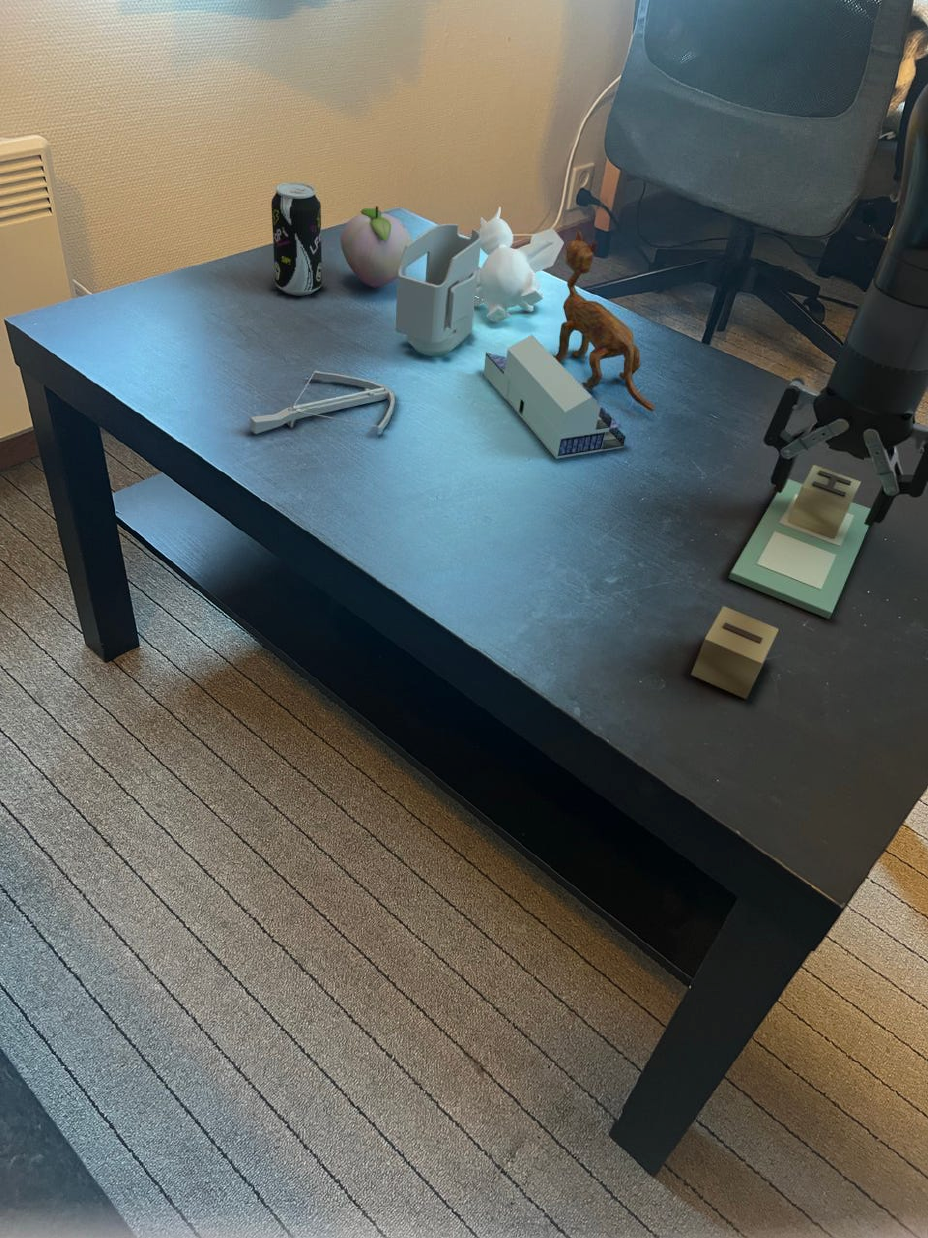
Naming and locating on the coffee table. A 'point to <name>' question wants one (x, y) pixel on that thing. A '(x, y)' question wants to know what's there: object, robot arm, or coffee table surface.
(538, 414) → the building
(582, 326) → the cat figurine
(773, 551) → the word board
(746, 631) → the tan cube
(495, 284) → the character figurine
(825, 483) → the light wooden cube
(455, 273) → the cable organizer
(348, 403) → the crossbow
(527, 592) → the coffee table surface
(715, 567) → the coffee table surface
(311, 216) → the beverage can
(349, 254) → the decorative fruit
